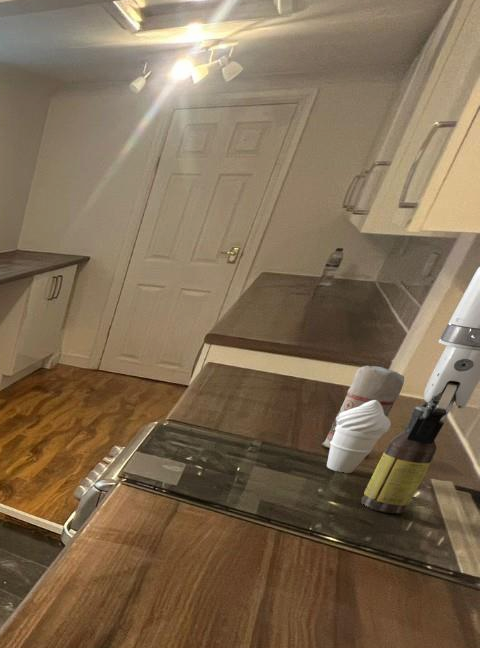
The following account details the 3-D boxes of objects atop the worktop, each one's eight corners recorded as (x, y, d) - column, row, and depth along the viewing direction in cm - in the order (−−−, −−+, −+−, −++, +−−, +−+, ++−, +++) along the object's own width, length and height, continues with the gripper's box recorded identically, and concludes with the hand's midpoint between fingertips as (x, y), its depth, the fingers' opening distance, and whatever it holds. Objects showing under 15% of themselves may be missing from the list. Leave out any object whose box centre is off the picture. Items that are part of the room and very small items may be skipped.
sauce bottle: (411, 513, 110) (469, 414, 101) (388, 517, 108) (445, 417, 100) (372, 497, 115) (423, 403, 107) (349, 501, 114) (400, 405, 105)
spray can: (317, 440, 143) (355, 361, 134) (361, 447, 139) (403, 366, 131) (326, 452, 137) (366, 369, 128) (372, 459, 133) (417, 375, 124)
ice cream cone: (347, 479, 123) (384, 408, 116) (304, 463, 130) (337, 395, 123) (374, 475, 125) (411, 404, 118) (330, 459, 132) (363, 392, 125)
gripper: (514, 349, 90) (451, 456, 98) (503, 334, 100) (446, 432, 108) (444, 341, 95) (389, 444, 103) (440, 327, 105) (391, 421, 113)
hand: (419, 436), depth 105 cm, fingers closed on sauce bottle, 4 cm apart
